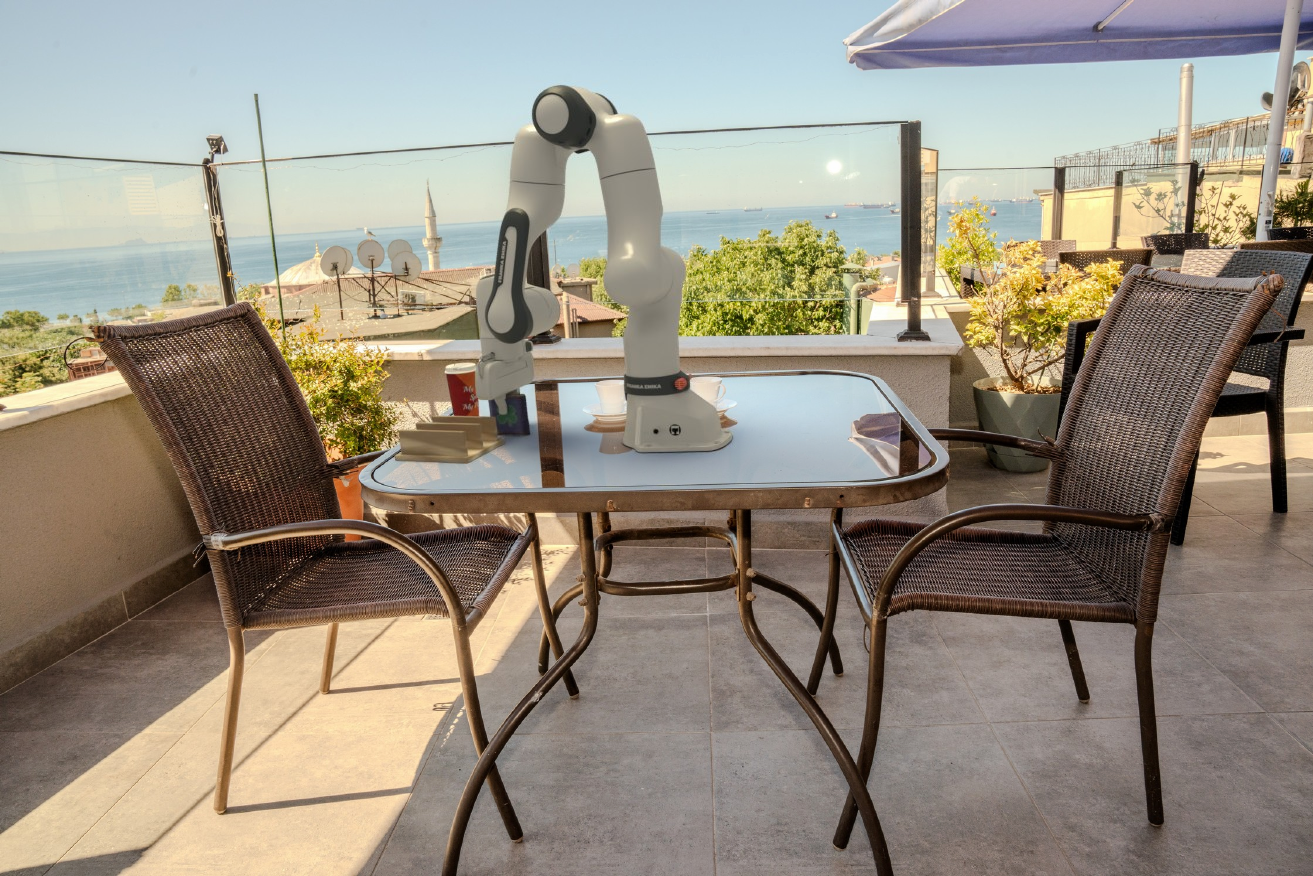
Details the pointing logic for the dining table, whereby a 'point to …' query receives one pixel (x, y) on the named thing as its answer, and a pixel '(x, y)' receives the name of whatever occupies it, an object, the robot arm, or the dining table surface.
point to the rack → (449, 439)
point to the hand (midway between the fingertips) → (509, 411)
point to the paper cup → (462, 389)
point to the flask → (511, 415)
